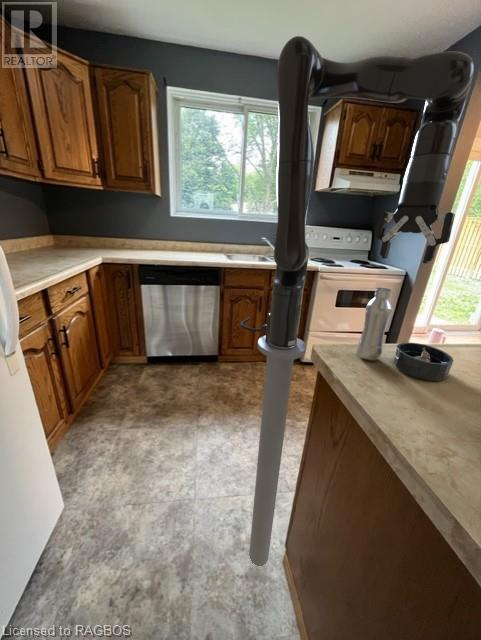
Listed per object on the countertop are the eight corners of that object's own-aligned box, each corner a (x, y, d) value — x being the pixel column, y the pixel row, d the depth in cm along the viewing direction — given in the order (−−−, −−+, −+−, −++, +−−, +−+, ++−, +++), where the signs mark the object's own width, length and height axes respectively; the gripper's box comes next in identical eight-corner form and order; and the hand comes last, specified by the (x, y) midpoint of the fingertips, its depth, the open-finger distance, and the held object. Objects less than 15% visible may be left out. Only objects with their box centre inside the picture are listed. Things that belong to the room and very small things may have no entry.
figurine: (405, 363, 74) (411, 343, 72) (419, 362, 75) (425, 342, 73) (420, 373, 69) (427, 352, 67) (435, 372, 70) (442, 351, 68)
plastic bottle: (368, 351, 81) (384, 286, 74) (385, 362, 75) (404, 292, 68) (350, 353, 79) (364, 286, 72) (365, 364, 73) (382, 292, 66)
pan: (386, 368, 72) (390, 351, 70) (400, 354, 80) (404, 338, 79) (442, 388, 64) (448, 370, 62) (451, 370, 72) (457, 353, 71)
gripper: (468, 182, 54) (444, 263, 60) (392, 186, 64) (377, 256, 69) (463, 177, 49) (437, 266, 55) (381, 181, 59) (366, 257, 64)
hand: (403, 260), depth 62 cm, fingers open, 8 cm apart
